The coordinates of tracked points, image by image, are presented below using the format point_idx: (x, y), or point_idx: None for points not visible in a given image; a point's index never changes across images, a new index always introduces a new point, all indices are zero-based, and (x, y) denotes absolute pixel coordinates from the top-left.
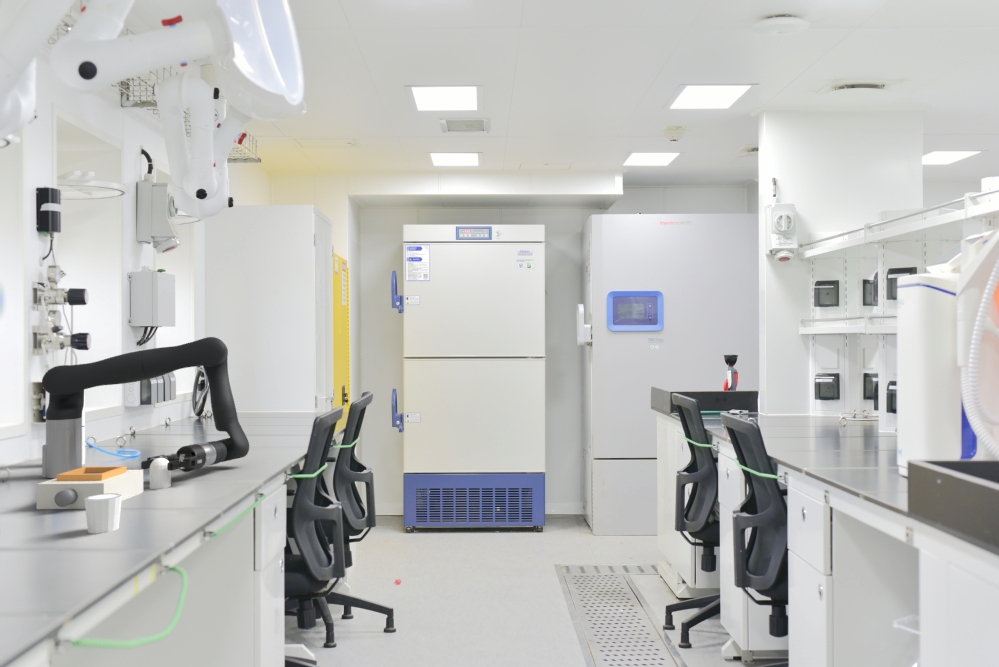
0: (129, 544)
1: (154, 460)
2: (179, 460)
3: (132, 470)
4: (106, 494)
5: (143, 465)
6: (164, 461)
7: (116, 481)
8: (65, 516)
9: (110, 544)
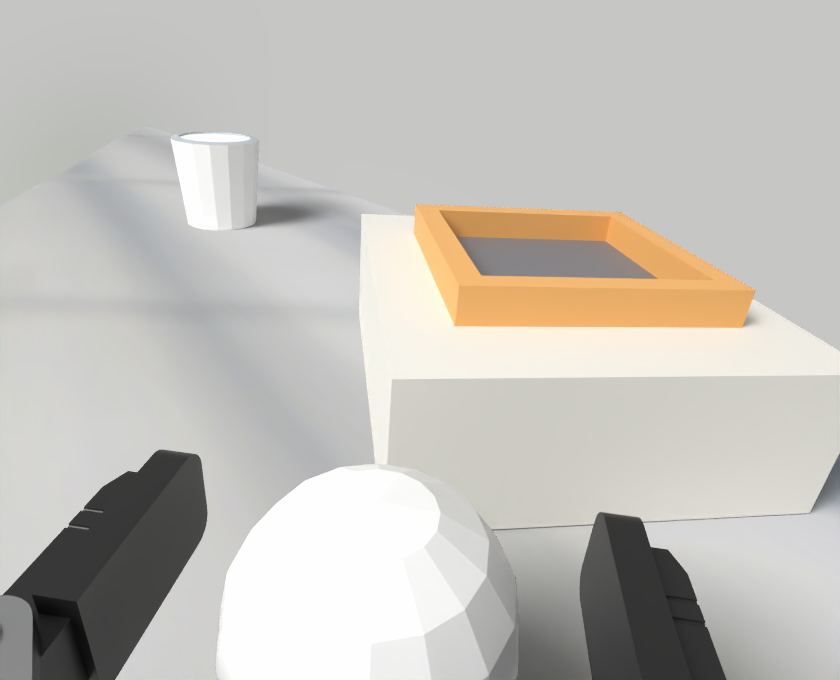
0: (122, 187)
1: (430, 480)
2: (28, 610)
3: (463, 361)
4: (220, 143)
5: (591, 545)
6: (278, 504)
7: (366, 255)
8: None
9: (161, 189)
